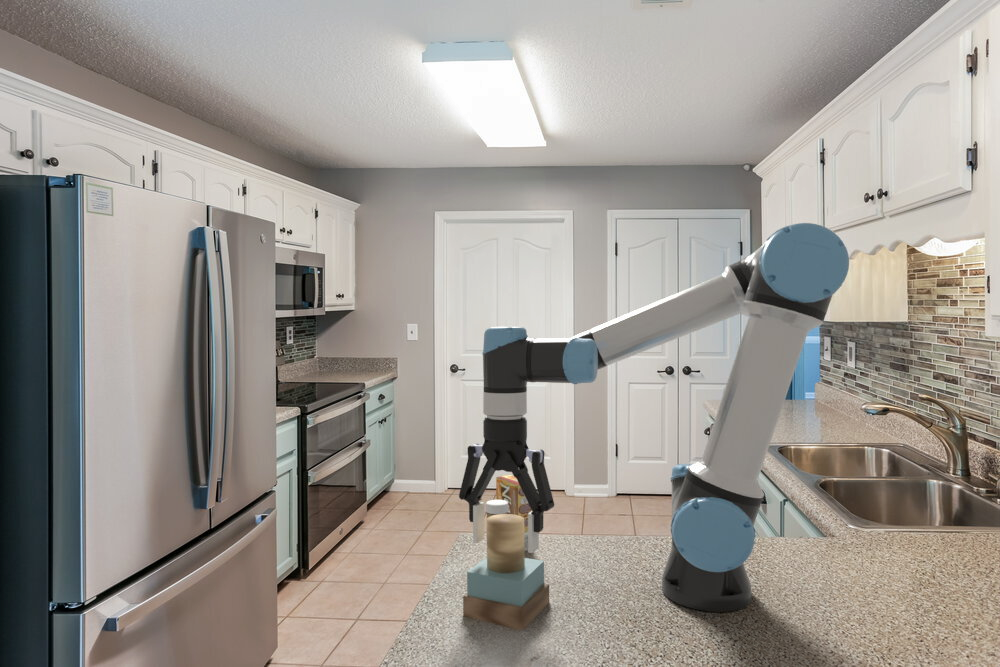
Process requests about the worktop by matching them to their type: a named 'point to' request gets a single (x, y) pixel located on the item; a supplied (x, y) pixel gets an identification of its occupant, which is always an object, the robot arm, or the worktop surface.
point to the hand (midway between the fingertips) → (505, 545)
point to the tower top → (506, 582)
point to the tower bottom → (506, 609)
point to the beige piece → (505, 543)
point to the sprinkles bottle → (496, 507)
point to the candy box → (514, 500)
